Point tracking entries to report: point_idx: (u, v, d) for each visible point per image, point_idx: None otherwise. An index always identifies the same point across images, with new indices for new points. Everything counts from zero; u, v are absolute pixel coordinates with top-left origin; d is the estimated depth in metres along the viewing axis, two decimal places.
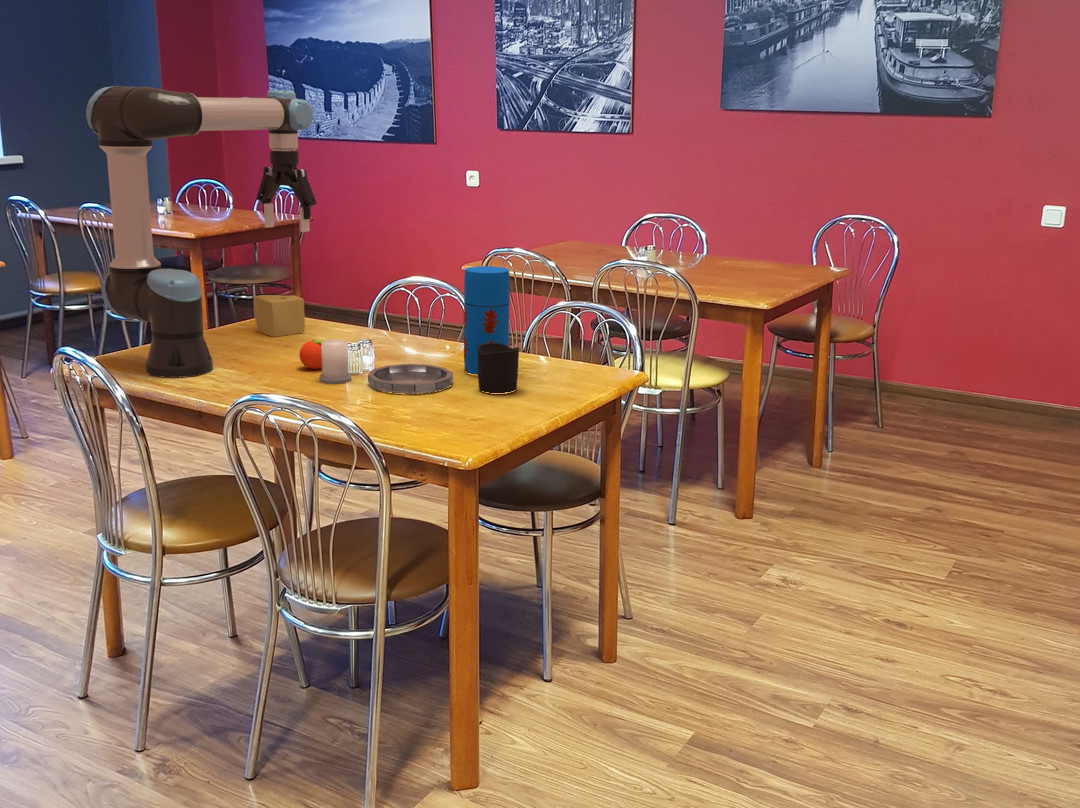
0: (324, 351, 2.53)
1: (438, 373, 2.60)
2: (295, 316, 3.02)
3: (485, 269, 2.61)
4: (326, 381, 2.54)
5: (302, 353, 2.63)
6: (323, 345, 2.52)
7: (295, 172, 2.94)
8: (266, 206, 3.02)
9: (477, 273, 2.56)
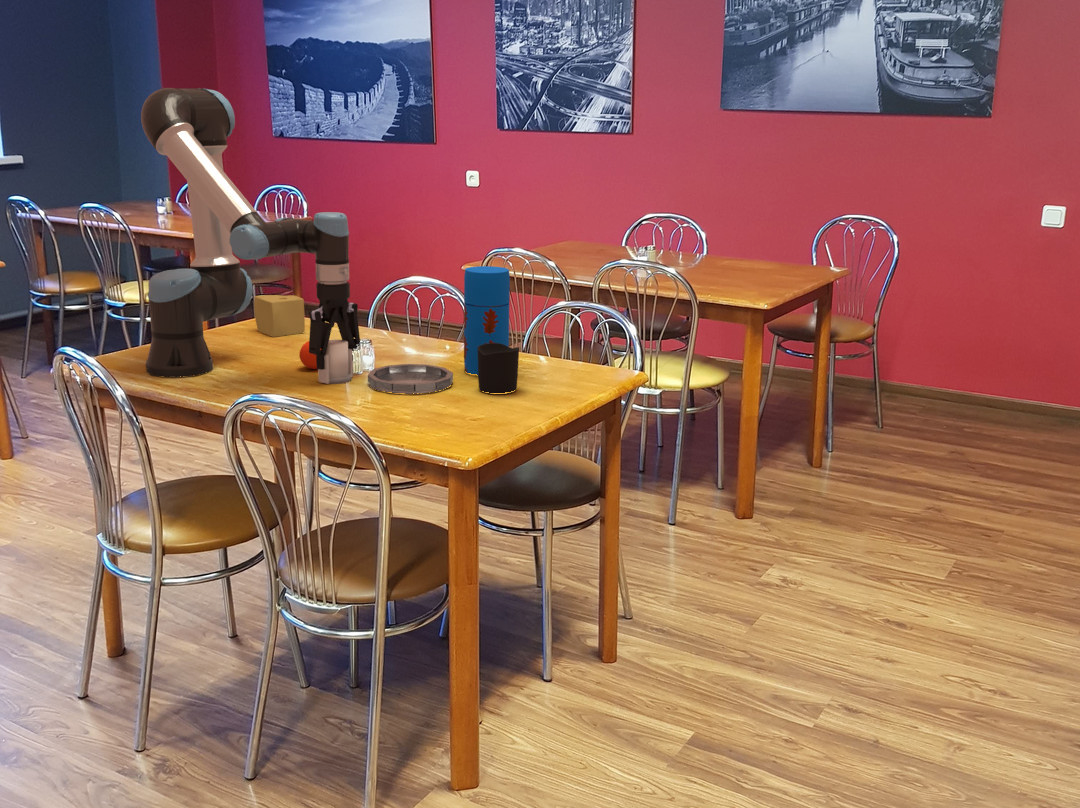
0: None
1: (438, 373, 2.60)
2: (295, 316, 3.02)
3: (485, 269, 2.61)
4: None
5: (302, 353, 2.63)
6: None
7: None
8: None
9: (477, 273, 2.56)
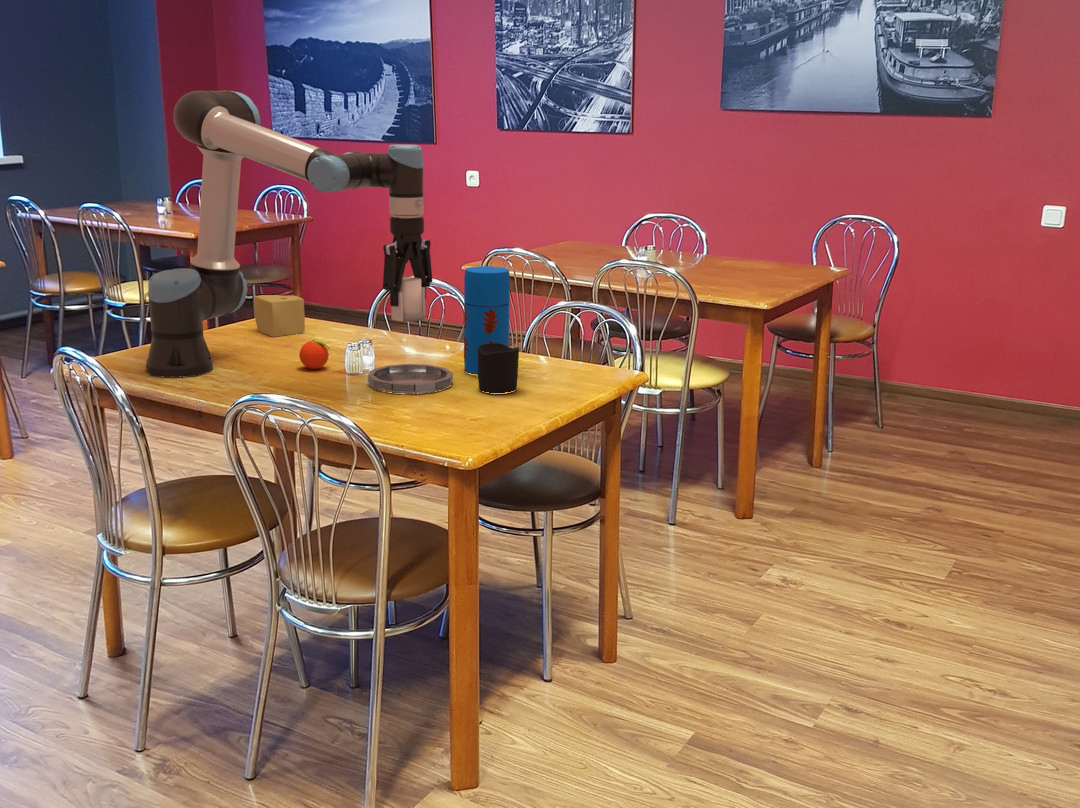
0: None
1: (438, 373, 2.60)
2: (295, 316, 3.02)
3: (485, 269, 2.61)
4: None
5: (302, 353, 2.63)
6: None
7: None
8: None
9: (477, 273, 2.56)
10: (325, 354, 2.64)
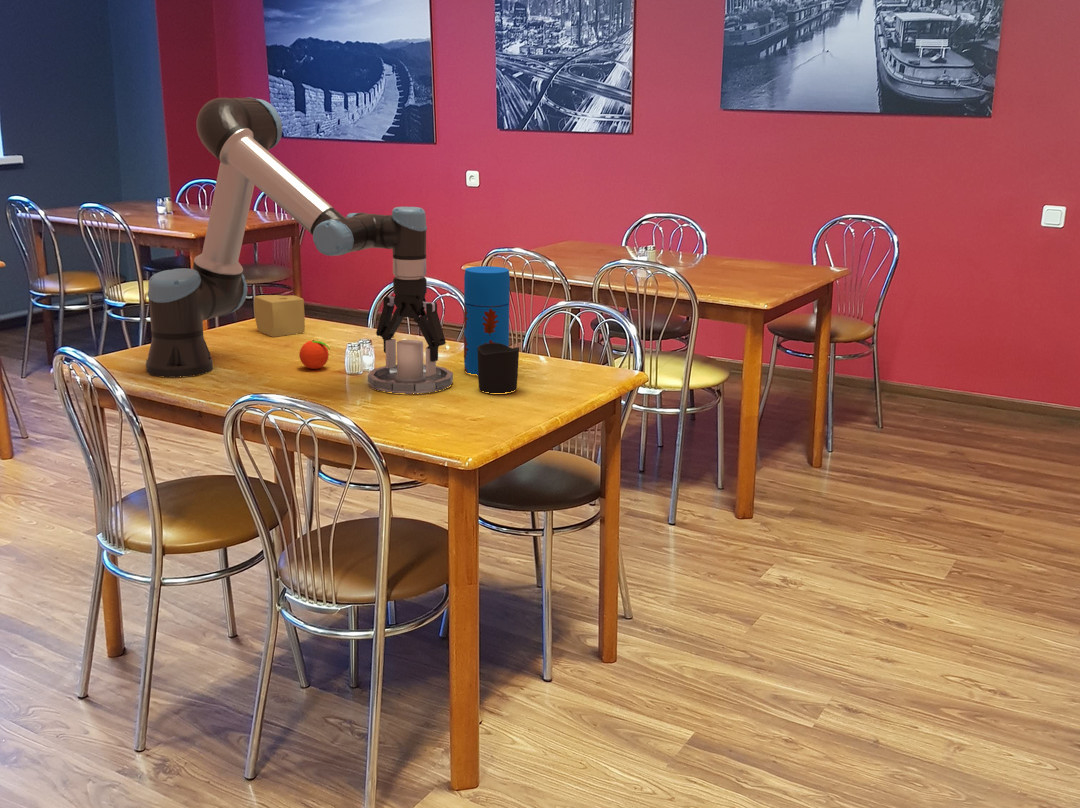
0: (418, 351, 2.51)
1: (438, 373, 2.60)
2: (295, 316, 3.02)
3: (485, 269, 2.61)
4: (423, 380, 2.53)
5: (302, 353, 2.63)
6: (417, 346, 2.50)
7: (424, 305, 2.47)
8: (388, 343, 2.55)
9: (477, 273, 2.56)
10: (325, 354, 2.64)
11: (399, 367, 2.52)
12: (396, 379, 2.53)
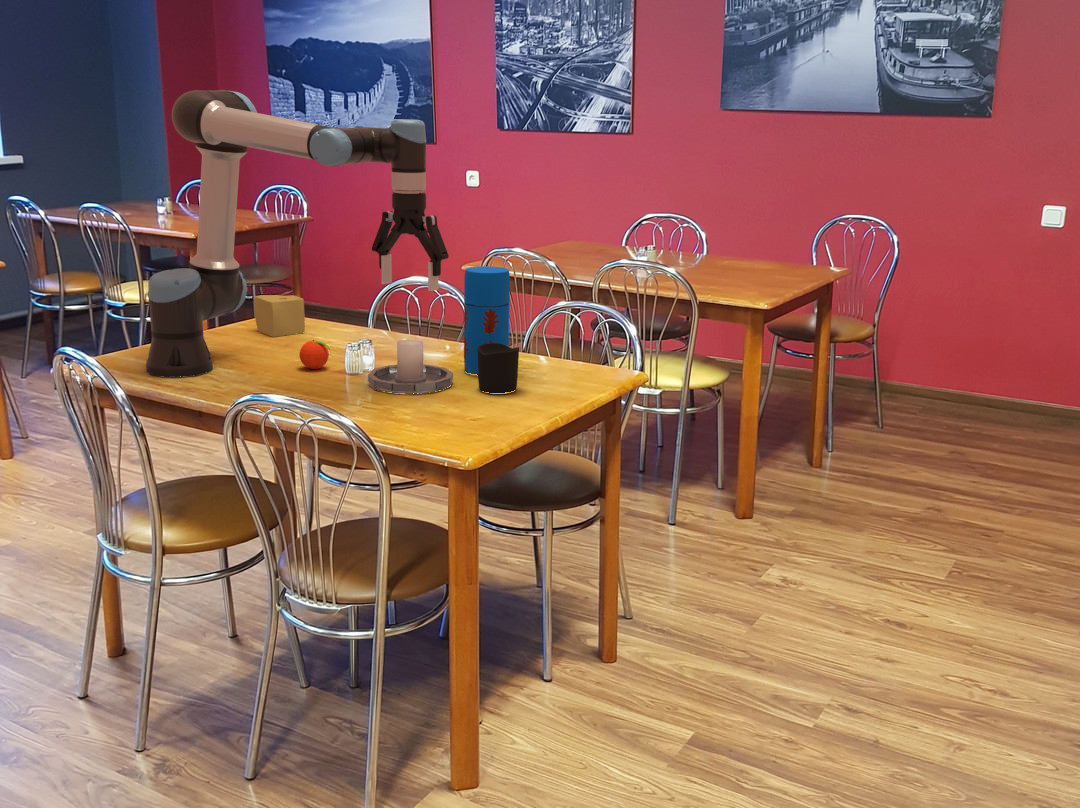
0: (418, 351, 2.51)
1: (438, 373, 2.60)
2: (295, 316, 3.02)
3: (485, 269, 2.61)
4: (423, 380, 2.53)
5: (302, 353, 2.63)
6: (418, 346, 2.50)
7: (423, 219, 2.42)
8: (384, 258, 2.50)
9: (477, 273, 2.56)
10: (325, 354, 2.64)
11: (399, 367, 2.52)
12: (396, 379, 2.53)
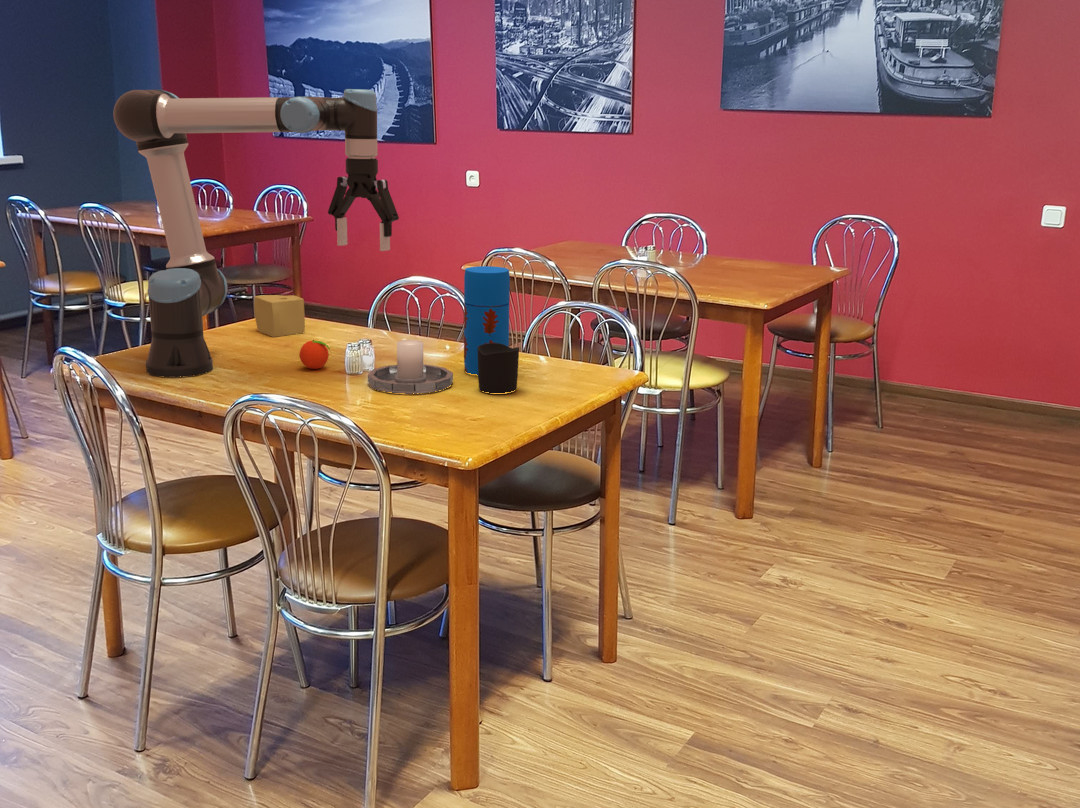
0: (418, 351, 2.51)
1: (438, 373, 2.60)
2: (295, 316, 3.02)
3: (485, 269, 2.61)
4: (423, 380, 2.53)
5: (302, 353, 2.63)
6: (417, 346, 2.50)
7: (375, 183, 2.58)
8: (339, 221, 2.65)
9: (477, 273, 2.56)
10: (325, 354, 2.64)
11: (399, 367, 2.52)
12: (396, 379, 2.53)
